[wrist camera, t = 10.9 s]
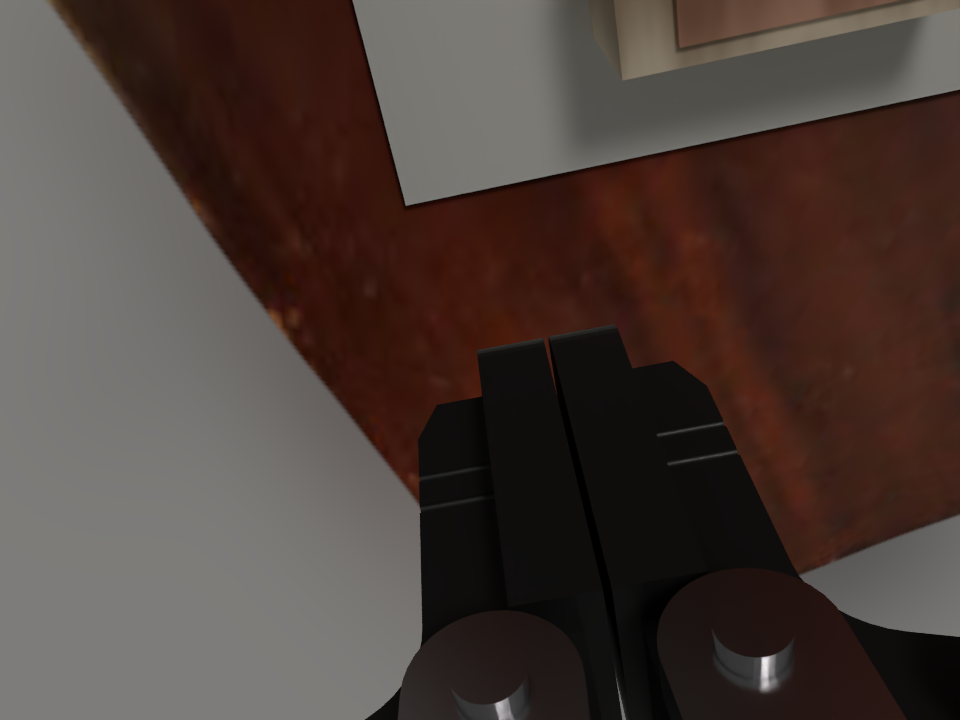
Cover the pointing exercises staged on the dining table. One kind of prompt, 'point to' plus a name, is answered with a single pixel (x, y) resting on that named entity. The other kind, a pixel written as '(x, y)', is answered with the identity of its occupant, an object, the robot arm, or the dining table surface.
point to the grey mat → (606, 88)
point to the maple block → (730, 27)
